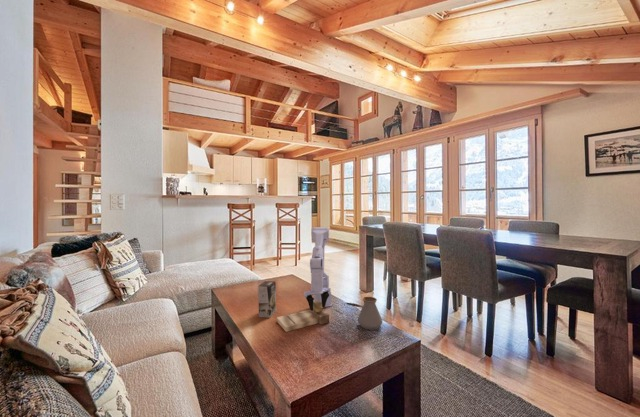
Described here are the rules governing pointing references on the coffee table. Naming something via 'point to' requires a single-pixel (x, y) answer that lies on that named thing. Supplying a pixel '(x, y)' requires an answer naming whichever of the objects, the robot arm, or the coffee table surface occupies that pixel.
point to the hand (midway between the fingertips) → (317, 308)
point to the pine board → (298, 320)
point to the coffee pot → (368, 314)
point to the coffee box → (267, 298)
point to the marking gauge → (320, 313)
